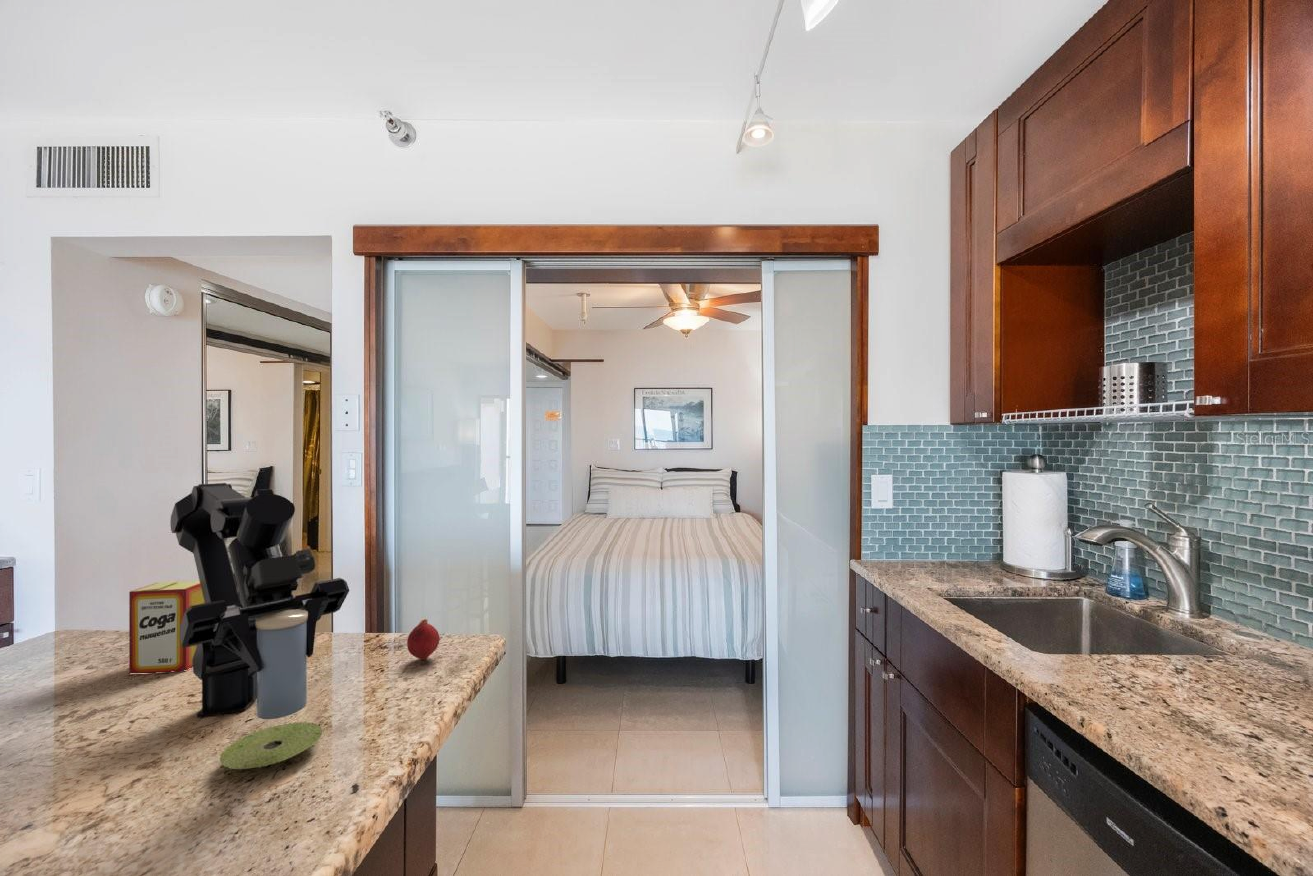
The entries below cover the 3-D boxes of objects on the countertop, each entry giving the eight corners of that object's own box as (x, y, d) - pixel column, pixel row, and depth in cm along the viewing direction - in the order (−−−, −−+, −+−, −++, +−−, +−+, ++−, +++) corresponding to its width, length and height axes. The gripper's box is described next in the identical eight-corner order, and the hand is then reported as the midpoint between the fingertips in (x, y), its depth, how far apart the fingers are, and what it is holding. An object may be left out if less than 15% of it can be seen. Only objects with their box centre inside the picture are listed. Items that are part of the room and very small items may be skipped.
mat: (244, 742, 76) (244, 728, 76) (333, 729, 79) (332, 716, 79) (200, 791, 65) (200, 775, 65) (305, 774, 68) (305, 759, 68)
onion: (427, 667, 101) (426, 625, 101) (400, 665, 102) (400, 623, 102) (445, 655, 106) (444, 615, 107) (419, 653, 108) (419, 613, 108)
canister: (245, 721, 68) (245, 624, 68) (270, 700, 74) (270, 610, 74) (294, 717, 69) (294, 622, 69) (315, 696, 75) (315, 608, 75)
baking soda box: (209, 657, 107) (209, 578, 107) (186, 671, 101) (186, 586, 101) (156, 661, 106) (156, 581, 106) (129, 675, 99) (129, 589, 99)
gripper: (184, 543, 67) (207, 652, 60) (344, 525, 82) (377, 610, 75) (170, 595, 72) (190, 701, 65) (323, 568, 86) (353, 652, 80)
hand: (285, 662), depth 71 cm, fingers closed on canister, 5 cm apart
